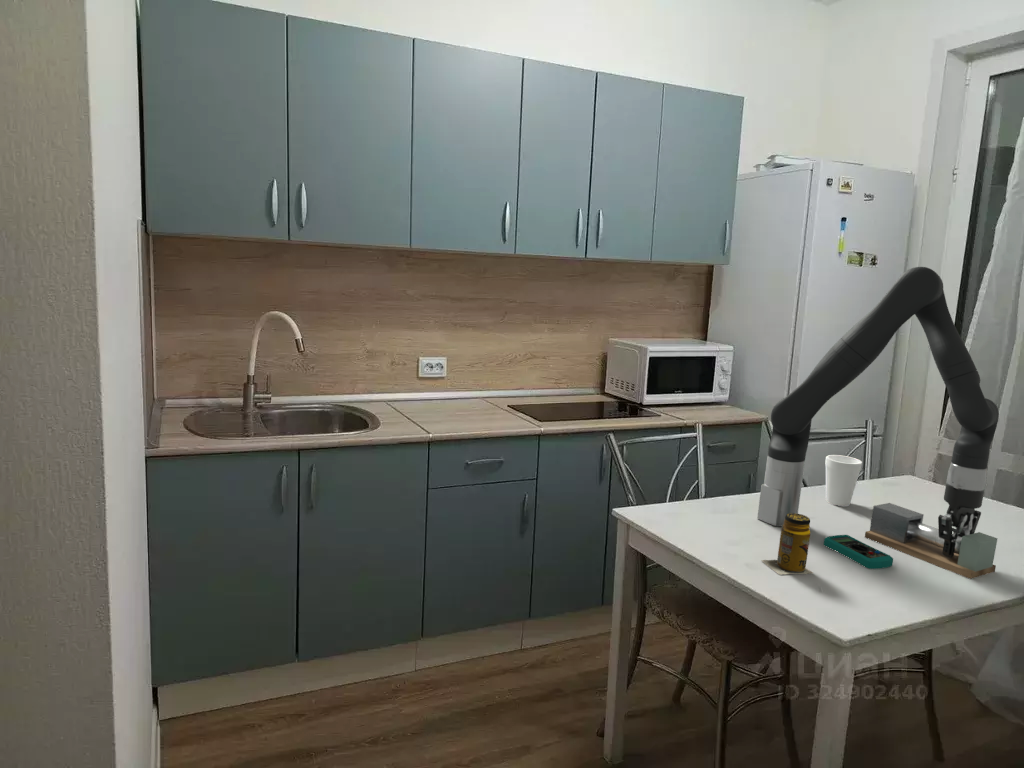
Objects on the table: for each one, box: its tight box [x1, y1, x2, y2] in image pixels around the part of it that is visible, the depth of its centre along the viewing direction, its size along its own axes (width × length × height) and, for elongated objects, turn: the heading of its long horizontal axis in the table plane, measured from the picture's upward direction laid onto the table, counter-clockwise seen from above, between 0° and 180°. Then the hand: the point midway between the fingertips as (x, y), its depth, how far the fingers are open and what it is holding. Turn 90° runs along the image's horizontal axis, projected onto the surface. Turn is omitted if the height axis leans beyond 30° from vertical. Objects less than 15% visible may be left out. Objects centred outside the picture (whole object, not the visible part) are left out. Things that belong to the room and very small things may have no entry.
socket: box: [957, 531, 998, 572], centre depth 166 cm, size 7×4×7 cm, turn 120°
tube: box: [907, 520, 962, 554], centre depth 174 cm, size 4×19×4 cm, turn 30°
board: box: [864, 530, 996, 580], centre depth 176 cm, size 10×26×2 cm, turn 30°
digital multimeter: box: [823, 534, 894, 570], centre depth 172 cm, size 7×15×3 cm, turn 20°
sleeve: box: [869, 502, 924, 544], centre depth 182 cm, size 7×9×7 cm
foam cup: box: [824, 454, 863, 507], centre depth 210 cm, size 10×9×13 cm
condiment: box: [761, 513, 814, 576], centre depth 162 cm, size 7×8×12 cm
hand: (953, 554), depth 170 cm, fingers closed on tube, 4 cm apart
